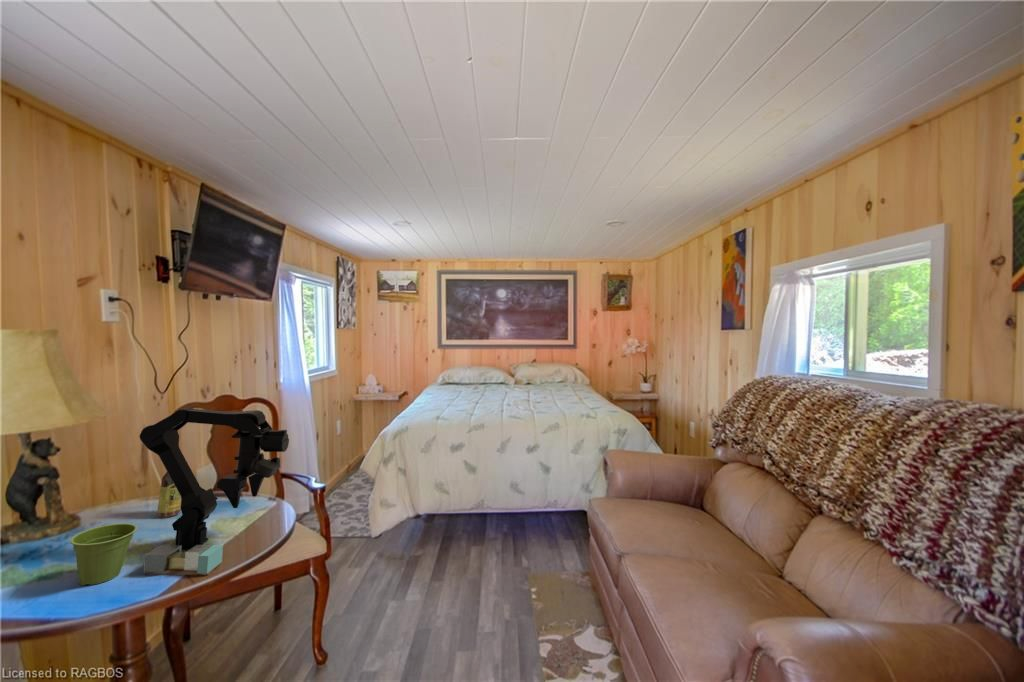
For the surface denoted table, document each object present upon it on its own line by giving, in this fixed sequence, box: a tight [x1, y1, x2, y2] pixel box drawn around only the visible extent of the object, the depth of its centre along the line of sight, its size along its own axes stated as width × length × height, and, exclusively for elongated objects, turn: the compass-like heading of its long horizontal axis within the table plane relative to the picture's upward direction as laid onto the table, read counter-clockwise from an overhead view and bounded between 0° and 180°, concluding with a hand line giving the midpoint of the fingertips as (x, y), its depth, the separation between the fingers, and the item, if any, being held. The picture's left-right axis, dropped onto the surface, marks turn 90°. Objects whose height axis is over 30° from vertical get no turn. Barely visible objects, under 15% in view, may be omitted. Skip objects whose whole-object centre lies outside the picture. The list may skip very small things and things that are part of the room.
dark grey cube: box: [143, 544, 182, 573], centre depth 102 cm, size 5×5×4 cm
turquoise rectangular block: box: [197, 544, 224, 574], centre depth 102 cm, size 2×6×5 cm, turn 4°
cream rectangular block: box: [166, 544, 211, 571], centre depth 102 cm, size 11×4×5 cm, turn 93°
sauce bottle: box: [157, 471, 181, 519], centre depth 133 cm, size 7×6×20 cm
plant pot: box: [69, 522, 139, 586], centre depth 97 cm, size 12×12×11 cm
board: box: [143, 562, 222, 576], centre depth 102 cm, size 16×5×1 cm, turn 93°
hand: (245, 501), depth 117 cm, fingers open, 9 cm apart
